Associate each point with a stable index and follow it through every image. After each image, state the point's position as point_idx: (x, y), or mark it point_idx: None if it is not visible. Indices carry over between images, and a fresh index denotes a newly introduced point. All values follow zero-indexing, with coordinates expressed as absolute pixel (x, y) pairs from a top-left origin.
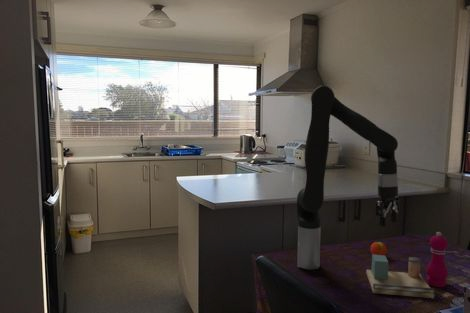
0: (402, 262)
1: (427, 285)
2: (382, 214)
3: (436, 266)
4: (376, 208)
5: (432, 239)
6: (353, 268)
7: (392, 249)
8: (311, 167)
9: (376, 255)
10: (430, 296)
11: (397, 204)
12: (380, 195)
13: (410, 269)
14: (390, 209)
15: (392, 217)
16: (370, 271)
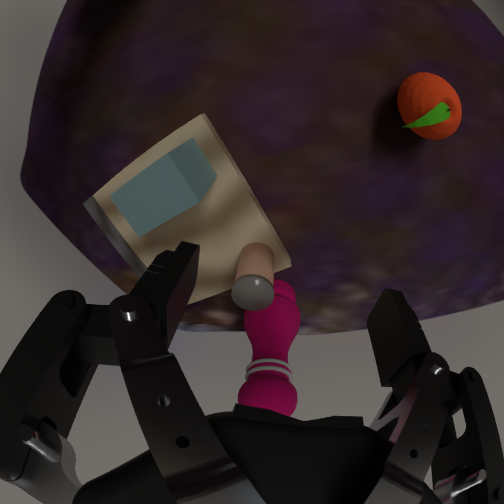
0: (403, 189)
1: (213, 293)
2: (86, 362)
3: (249, 338)
4: (11, 366)
5: (246, 403)
6: (220, 56)
7: (498, 144)
8: None
9: (170, 173)
10: None
11: (437, 457)
12: None
13: (238, 265)
14: (408, 392)
15: (392, 325)
16: (192, 133)
